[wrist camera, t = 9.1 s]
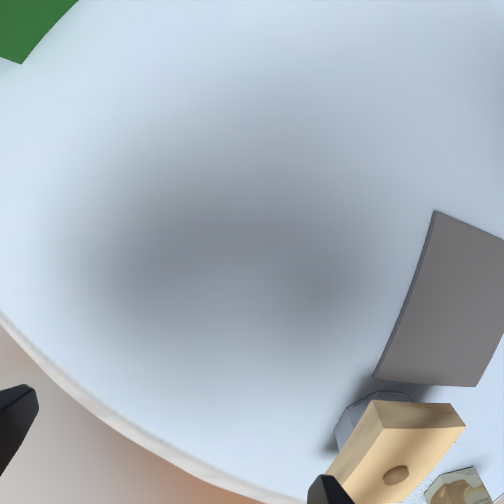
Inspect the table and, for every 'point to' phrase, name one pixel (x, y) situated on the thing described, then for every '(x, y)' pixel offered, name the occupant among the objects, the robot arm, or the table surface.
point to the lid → (394, 449)
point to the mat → (449, 309)
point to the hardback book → (27, 24)
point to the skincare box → (458, 489)
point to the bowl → (356, 412)
